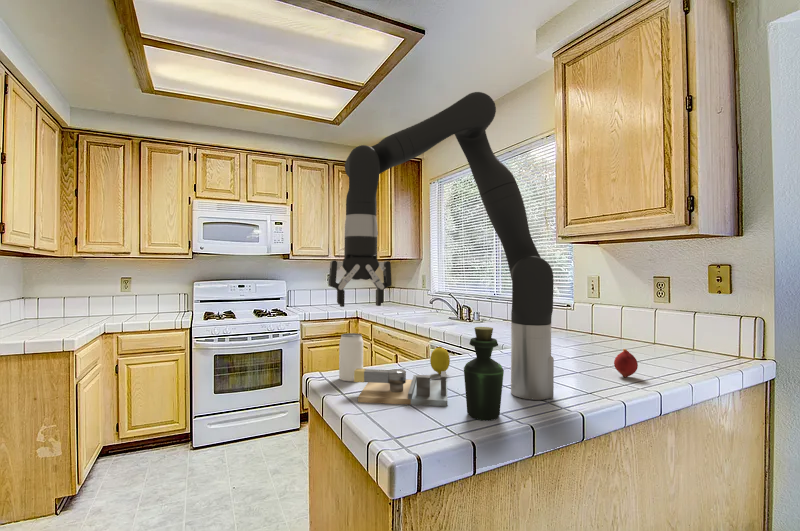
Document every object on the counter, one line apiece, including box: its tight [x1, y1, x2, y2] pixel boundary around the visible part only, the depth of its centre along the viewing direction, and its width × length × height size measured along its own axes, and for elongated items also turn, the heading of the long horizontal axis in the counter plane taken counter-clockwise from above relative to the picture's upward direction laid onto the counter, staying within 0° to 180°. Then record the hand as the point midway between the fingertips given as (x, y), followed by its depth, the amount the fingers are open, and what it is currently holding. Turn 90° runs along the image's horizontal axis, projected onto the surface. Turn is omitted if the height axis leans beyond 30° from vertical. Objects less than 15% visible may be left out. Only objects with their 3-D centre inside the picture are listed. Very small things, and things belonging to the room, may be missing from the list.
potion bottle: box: [463, 326, 505, 422], centre depth 85 cm, size 8×8×18 cm
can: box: [338, 332, 364, 383], centre depth 112 cm, size 6×6×12 cm
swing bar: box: [354, 368, 407, 385], centre depth 98 cm, size 12×4×3 cm, turn 84°
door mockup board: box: [357, 370, 448, 407], centre depth 100 cm, size 20×16×6 cm
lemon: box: [429, 345, 451, 375], centre depth 118 cm, size 6×6×8 cm
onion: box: [613, 348, 639, 378], centre depth 116 cm, size 6×6×8 cm
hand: (360, 306), depth 95 cm, fingers open, 8 cm apart
